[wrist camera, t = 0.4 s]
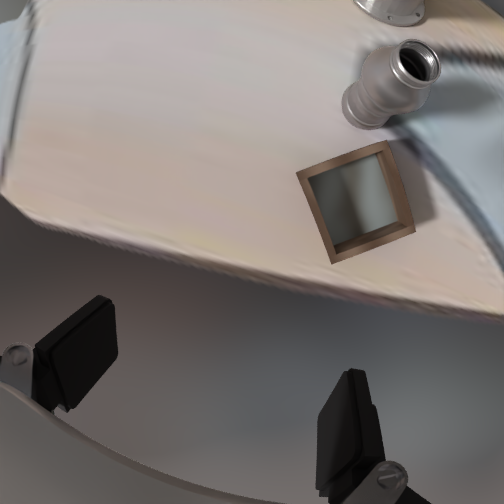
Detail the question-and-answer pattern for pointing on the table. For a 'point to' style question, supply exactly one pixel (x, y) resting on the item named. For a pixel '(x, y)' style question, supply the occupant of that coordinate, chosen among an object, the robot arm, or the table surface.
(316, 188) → the square wooden frame
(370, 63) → the silver rounded threaded piece
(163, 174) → the table surface
